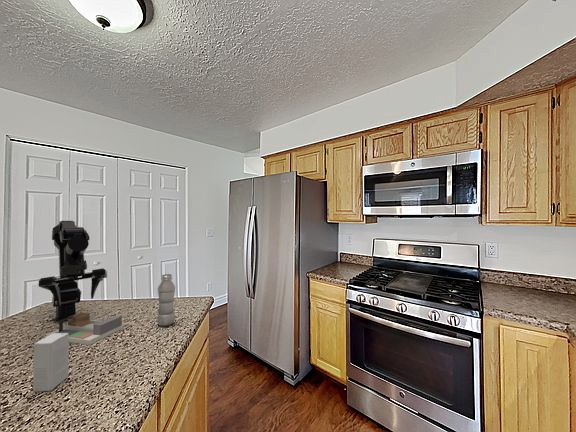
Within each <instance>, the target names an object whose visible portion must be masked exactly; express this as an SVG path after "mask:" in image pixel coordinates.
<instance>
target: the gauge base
mask: <svg viewBox="0 0 576 432" xmlns="http://www.w3.org/2000/svg"><path fill="white" fill-rule="evenodd" d="M122 322H123V316H122V315H113V316H110V317H108V318H106V319H103V320H97V319H96V320H95V319H90V323H89V324H87V325H85V326H82V327H78V326H70V325H68V324H63V331H61V332H59V328H58V329H56V330H54V331H51V332H48V333H46V334H45V337H47V336H49V335H50V334H52V333H69V343H73V344H74V343H75V344H81V345H87V346H90V345H92V344H95V343H96V342H98V341H101V340H102V339H104V338H107V337H109V336H110V335H113V334H114V333H115V334H116V333H117V332H119V331H121V330H123V329H124V328H125V324H123V323H122Z"/></svg>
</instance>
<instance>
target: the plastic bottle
mask: <svg viewBox="0 0 576 432" xmlns="http://www.w3.org/2000/svg"><path fill="white" fill-rule="evenodd" d="M172 280H173V274H169V273H168V274H167V273H166V274H165V273H164V274H162V275H161V282H160V283H159V285H158V287H157V297H158V312H157V317H156V319H157V324H158V325H159V327H167V326H170V325H173V324H174V322H175V321H176V320H175V319H176V313H175V306H174V301H175V293H176V285H175V283H174V282H173V281H172Z"/></svg>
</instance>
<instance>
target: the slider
mask: <svg viewBox="0 0 576 432" xmlns="http://www.w3.org/2000/svg"><path fill="white" fill-rule="evenodd" d="M65 320H67V325H70V326H78V327H82V326H85V325H87V324H89V323H90V320H91V319H90V313H89V312H79V313H76V315H73V316H70V317H68V318H65V319H62V320H60V321H56V322H57V323H58V329H59V332H61V331H63V325H64V322H66V321H65ZM63 321H64V322H63Z"/></svg>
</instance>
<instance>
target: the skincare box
mask: <svg viewBox="0 0 576 432" xmlns="http://www.w3.org/2000/svg"><path fill="white" fill-rule="evenodd" d="M69 343H70V342H69V333H52V334H50V335H49V336H47V337H46V336H45V337H44V338H42V339H40V340H38V341H36V342H34V343H33V367H32V368H33V369H32V370H33V371H32V372H33V376H32V377H33V379H32V381H33V382H32V384H33V385H32V386H33V387H32V388H33V389H32V390H33V393H35V392H36V393H37V392H51V391H52V390H54V389H55V388H56V387H57V386H58V385H60V384H61V383H62V382H63V381H64V380H66V379H67V378H68V377H69V351H70V350H69V349H70V348H69V347H70V345H69Z"/></svg>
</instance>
